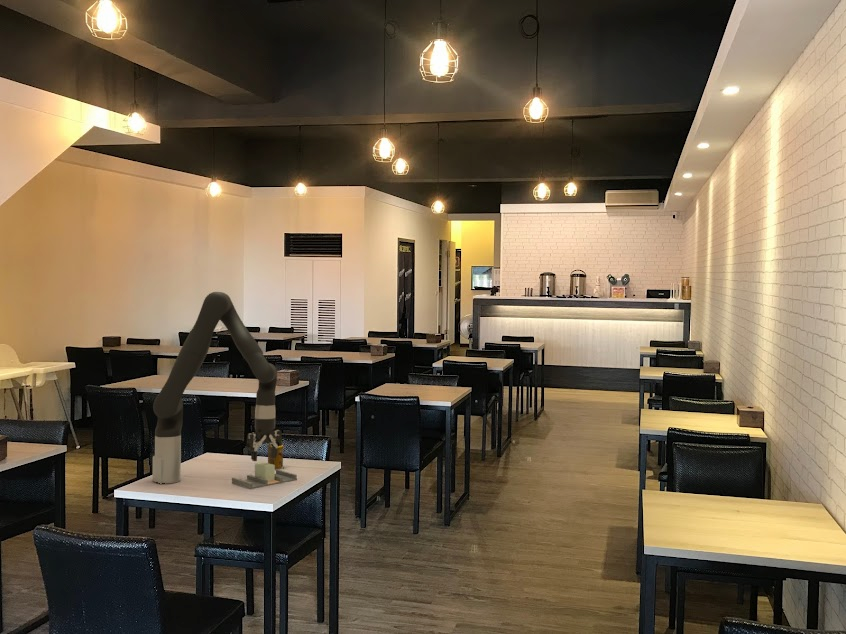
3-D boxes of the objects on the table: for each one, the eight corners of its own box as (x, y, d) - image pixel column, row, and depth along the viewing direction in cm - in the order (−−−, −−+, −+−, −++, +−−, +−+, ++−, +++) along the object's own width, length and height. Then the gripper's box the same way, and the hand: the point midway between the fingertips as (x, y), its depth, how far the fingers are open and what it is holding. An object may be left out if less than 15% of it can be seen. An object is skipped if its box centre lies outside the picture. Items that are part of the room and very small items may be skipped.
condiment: (287, 468, 313) (287, 438, 313) (269, 471, 308) (269, 441, 307) (277, 465, 319) (277, 436, 318) (259, 468, 313) (259, 438, 312)
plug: (265, 482, 286) (265, 466, 286) (254, 479, 291) (254, 463, 291) (274, 480, 289) (274, 465, 289) (263, 477, 294) (263, 462, 293)
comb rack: (250, 489, 278) (250, 483, 278) (231, 483, 286) (231, 477, 286) (296, 479, 293) (296, 474, 293) (277, 474, 301) (278, 469, 301)
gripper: (275, 413, 297) (273, 455, 297) (243, 416, 287) (242, 460, 287) (286, 416, 292) (285, 458, 292) (254, 419, 281) (253, 463, 282)
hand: (264, 459), depth 290 cm, fingers open, 8 cm apart
